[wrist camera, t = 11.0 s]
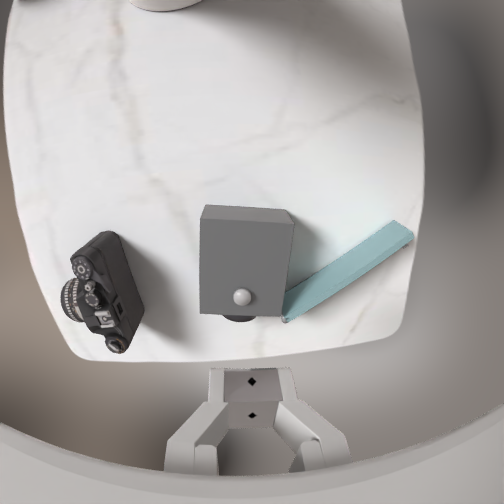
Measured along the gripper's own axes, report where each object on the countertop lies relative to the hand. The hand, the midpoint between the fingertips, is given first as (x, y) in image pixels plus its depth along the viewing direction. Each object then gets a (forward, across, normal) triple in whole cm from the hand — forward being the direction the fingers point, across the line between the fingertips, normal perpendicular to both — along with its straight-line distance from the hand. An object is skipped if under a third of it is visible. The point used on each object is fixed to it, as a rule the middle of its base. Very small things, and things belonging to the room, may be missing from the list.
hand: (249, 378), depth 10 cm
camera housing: (+27, -1, +7) cm, 28 cm away
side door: (+27, -15, +8) cm, 32 cm away
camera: (+28, +19, +12) cm, 36 cm away
